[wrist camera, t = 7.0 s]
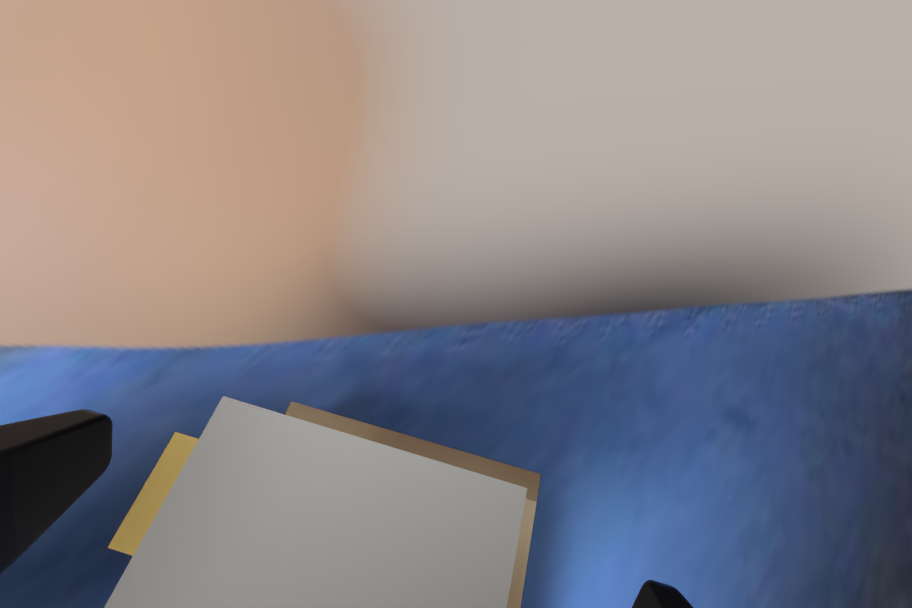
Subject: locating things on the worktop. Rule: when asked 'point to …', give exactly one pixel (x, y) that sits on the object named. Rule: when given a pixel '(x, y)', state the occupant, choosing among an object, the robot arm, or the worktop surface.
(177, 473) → the mustard block
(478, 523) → the white plug
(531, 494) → the bay
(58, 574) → the worktop surface
